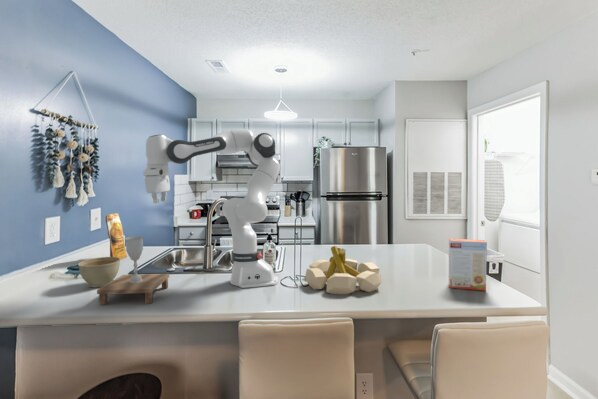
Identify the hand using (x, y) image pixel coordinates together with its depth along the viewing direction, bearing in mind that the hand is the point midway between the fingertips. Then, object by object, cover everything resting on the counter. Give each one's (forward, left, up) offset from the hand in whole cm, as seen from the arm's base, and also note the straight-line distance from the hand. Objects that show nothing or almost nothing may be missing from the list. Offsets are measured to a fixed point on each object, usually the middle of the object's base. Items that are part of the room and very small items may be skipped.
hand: (159, 202), depth 144 cm
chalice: (+5, +14, -32) cm, 35 cm away
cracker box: (-135, +15, -38) cm, 141 cm away
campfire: (-83, +4, -38) cm, 91 cm away
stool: (+5, +14, -38) cm, 41 cm away
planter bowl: (+28, -2, -38) cm, 47 cm away
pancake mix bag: (+45, -51, -38) cm, 78 cm away
